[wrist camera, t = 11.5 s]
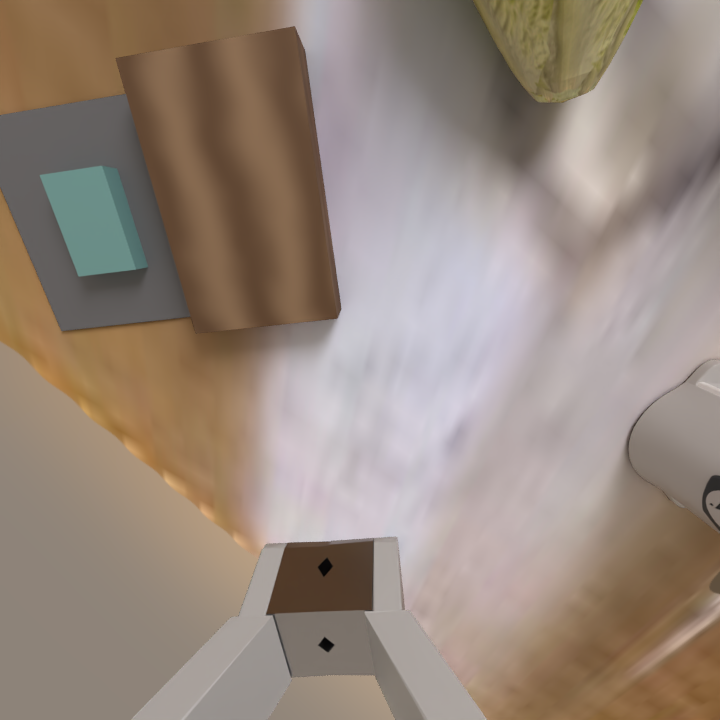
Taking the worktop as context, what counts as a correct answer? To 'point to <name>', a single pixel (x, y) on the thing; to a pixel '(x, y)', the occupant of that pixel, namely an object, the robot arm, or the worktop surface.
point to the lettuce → (558, 41)
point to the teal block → (95, 220)
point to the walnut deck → (237, 177)
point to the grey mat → (42, 232)
